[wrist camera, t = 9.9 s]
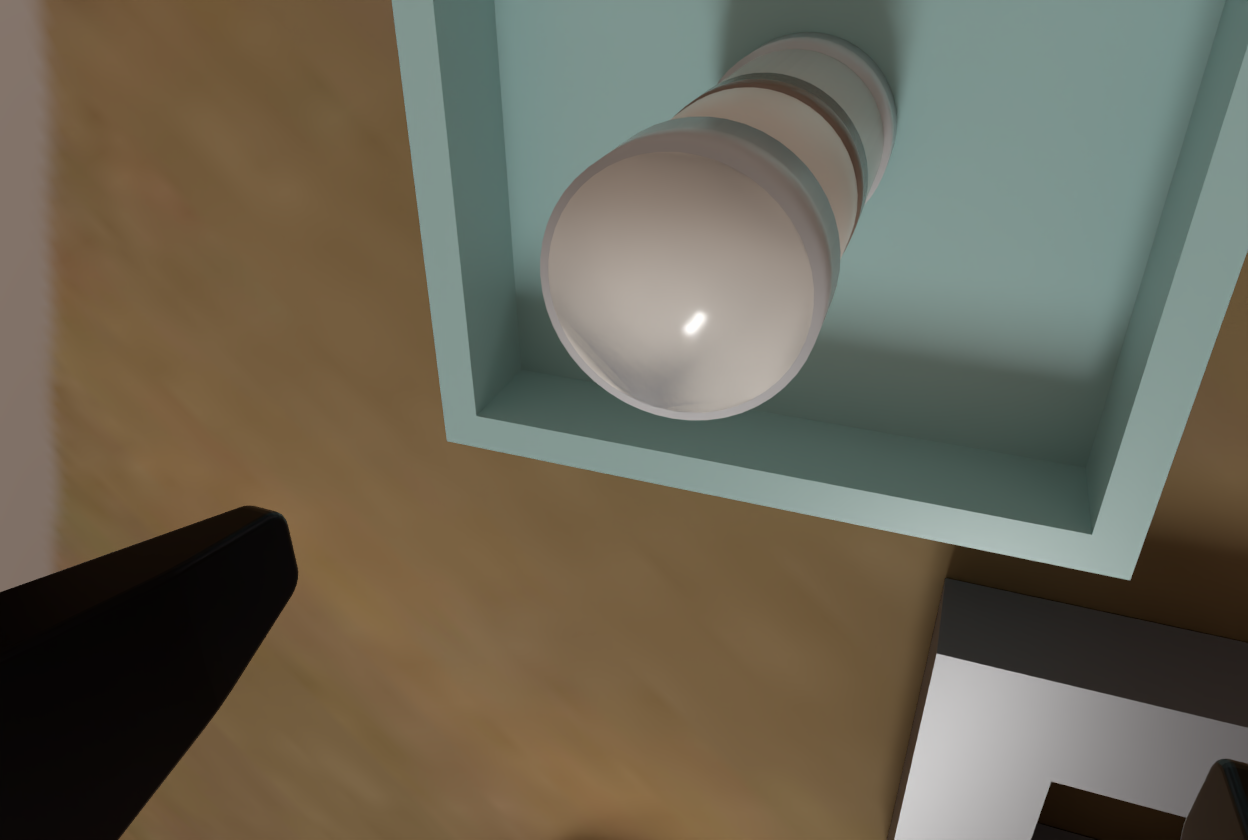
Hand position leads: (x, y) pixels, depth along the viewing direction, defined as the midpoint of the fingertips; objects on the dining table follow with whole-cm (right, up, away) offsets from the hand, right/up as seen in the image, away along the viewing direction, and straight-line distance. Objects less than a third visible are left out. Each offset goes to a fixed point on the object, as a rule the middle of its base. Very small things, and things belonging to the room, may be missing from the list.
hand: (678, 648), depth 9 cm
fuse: (+3, +7, +8) cm, 11 cm away
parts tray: (+3, +8, +8) cm, 12 cm away
